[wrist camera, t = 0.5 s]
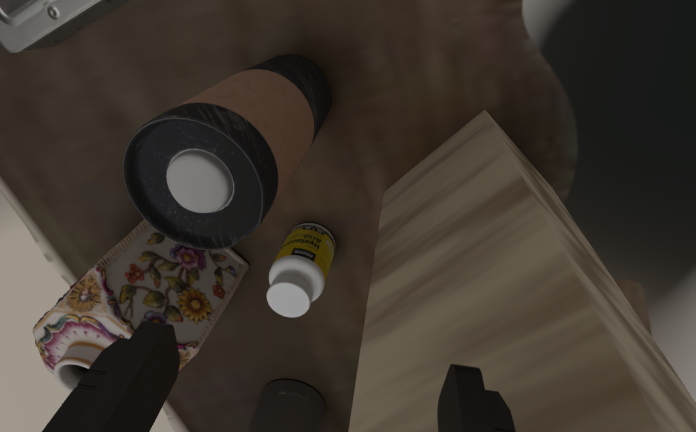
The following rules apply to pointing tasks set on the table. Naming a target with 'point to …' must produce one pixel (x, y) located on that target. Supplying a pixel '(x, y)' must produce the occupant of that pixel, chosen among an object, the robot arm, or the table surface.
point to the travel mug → (226, 152)
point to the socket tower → (502, 304)
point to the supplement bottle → (300, 269)
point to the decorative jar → (138, 300)
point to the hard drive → (46, 21)
